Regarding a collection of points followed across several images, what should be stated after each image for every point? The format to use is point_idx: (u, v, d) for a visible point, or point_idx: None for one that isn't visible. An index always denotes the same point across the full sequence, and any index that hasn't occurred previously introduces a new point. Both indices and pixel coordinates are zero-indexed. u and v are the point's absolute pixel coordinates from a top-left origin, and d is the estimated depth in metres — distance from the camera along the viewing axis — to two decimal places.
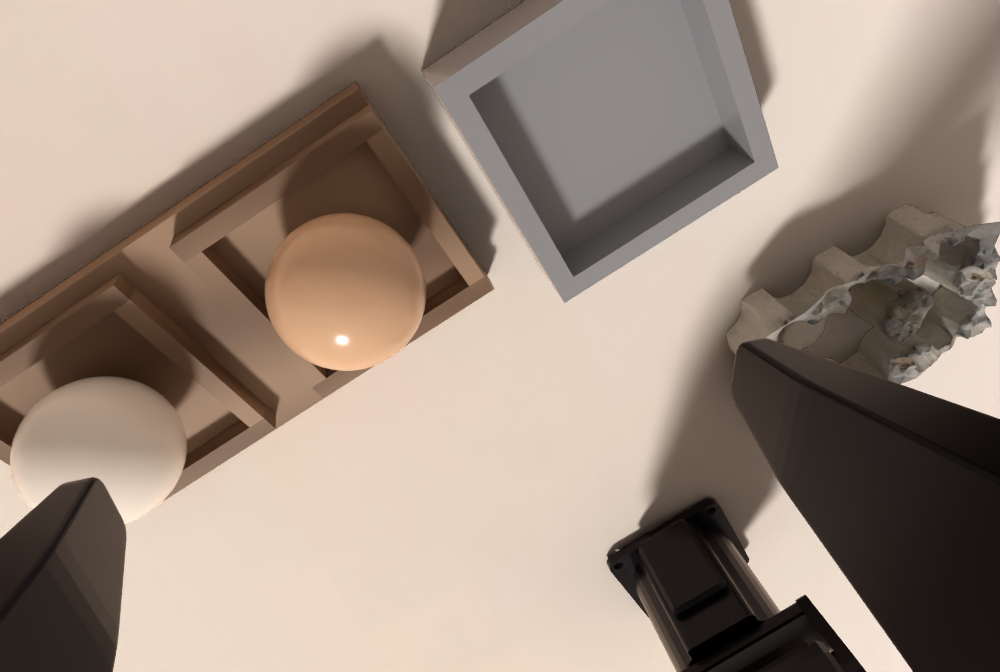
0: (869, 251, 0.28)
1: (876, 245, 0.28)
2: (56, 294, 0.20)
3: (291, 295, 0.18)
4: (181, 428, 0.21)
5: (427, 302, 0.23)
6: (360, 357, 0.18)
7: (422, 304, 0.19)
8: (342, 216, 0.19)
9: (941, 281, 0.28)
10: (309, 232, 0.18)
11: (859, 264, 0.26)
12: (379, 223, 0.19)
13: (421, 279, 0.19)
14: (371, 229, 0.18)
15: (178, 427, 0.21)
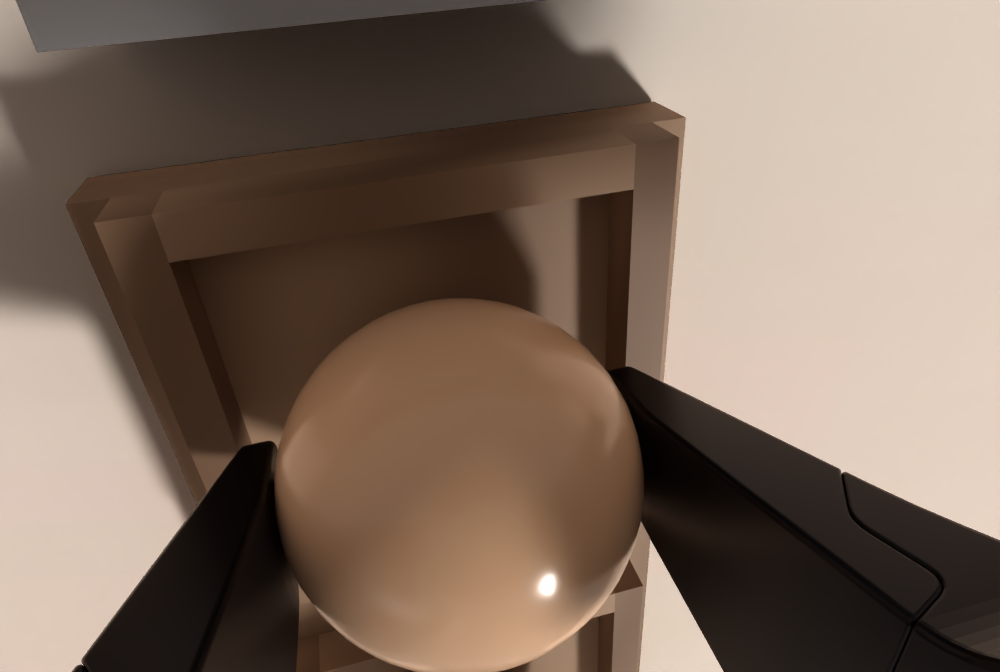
0: None
1: None
2: None
3: (365, 650, 0.08)
4: None
5: (612, 273, 0.10)
6: (584, 614, 0.07)
7: (569, 401, 0.07)
8: (287, 423, 0.08)
9: None
10: None
11: None
12: (340, 362, 0.07)
13: (511, 367, 0.07)
14: (325, 412, 0.07)
15: None
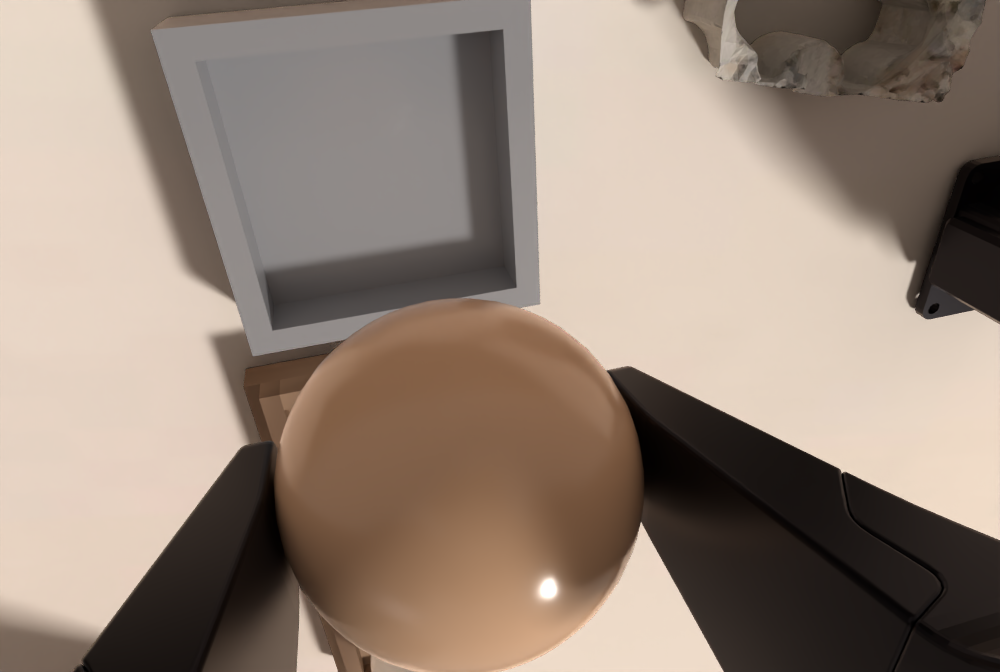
0: None
1: None
2: None
3: (365, 651, 0.08)
4: None
5: None
6: (584, 615, 0.07)
7: (570, 401, 0.07)
8: (287, 424, 0.08)
9: None
10: (276, 517, 0.08)
11: None
12: (340, 363, 0.07)
13: (511, 367, 0.07)
14: (326, 413, 0.07)
15: None
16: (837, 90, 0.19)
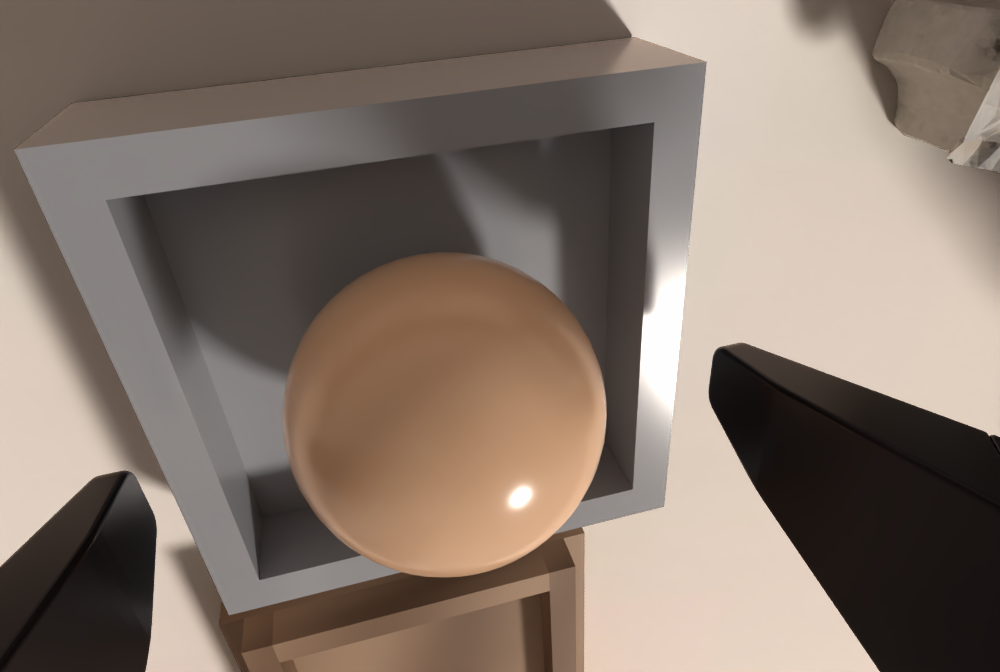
0: None
1: None
2: None
3: (366, 555, 0.09)
4: None
5: (543, 610, 0.16)
6: (555, 516, 0.08)
7: (539, 330, 0.08)
8: (293, 360, 0.09)
9: None
10: (285, 442, 0.09)
11: None
12: (340, 304, 0.09)
13: (488, 302, 0.08)
14: (329, 345, 0.08)
15: None
16: None
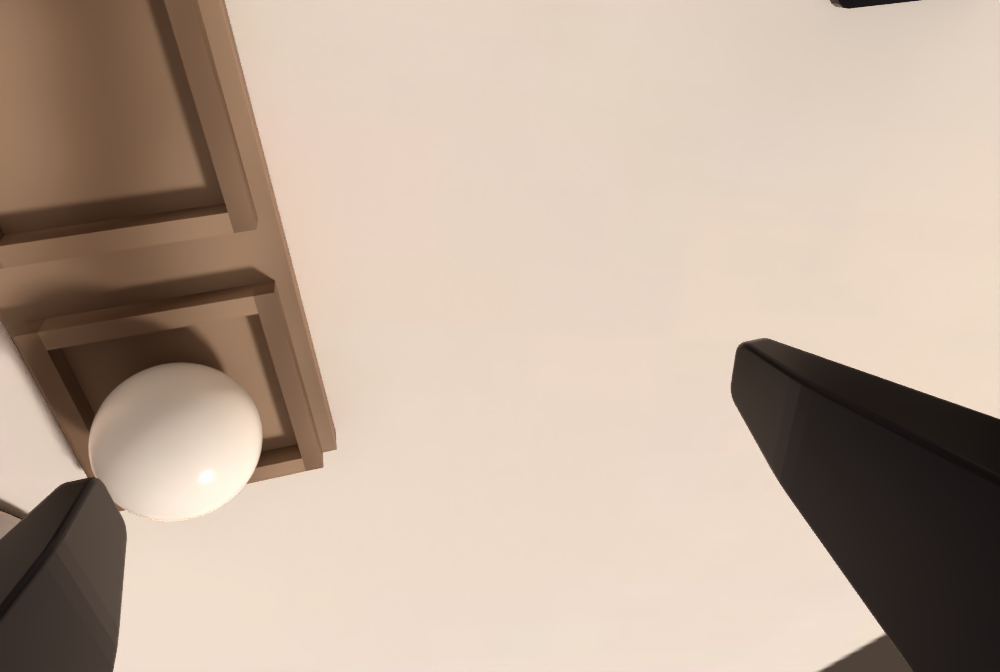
0: None
1: None
2: (33, 377, 0.20)
3: None
4: (188, 373, 0.19)
5: None
6: None
7: None
8: None
9: None
10: None
11: None
12: None
13: None
14: None
15: (181, 375, 0.19)
16: None
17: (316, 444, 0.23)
